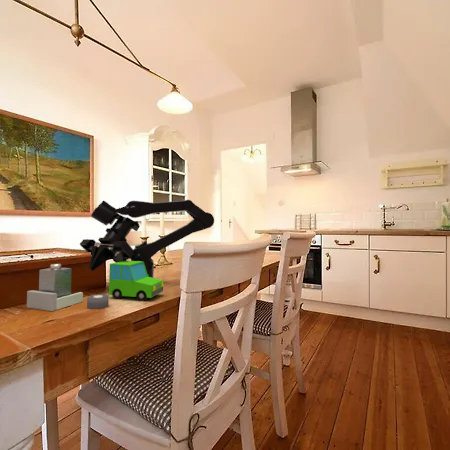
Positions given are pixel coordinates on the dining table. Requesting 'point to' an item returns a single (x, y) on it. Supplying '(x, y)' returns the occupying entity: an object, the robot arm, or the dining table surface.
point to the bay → (51, 300)
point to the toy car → (132, 281)
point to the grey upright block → (55, 280)
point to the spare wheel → (97, 301)
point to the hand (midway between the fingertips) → (90, 269)
